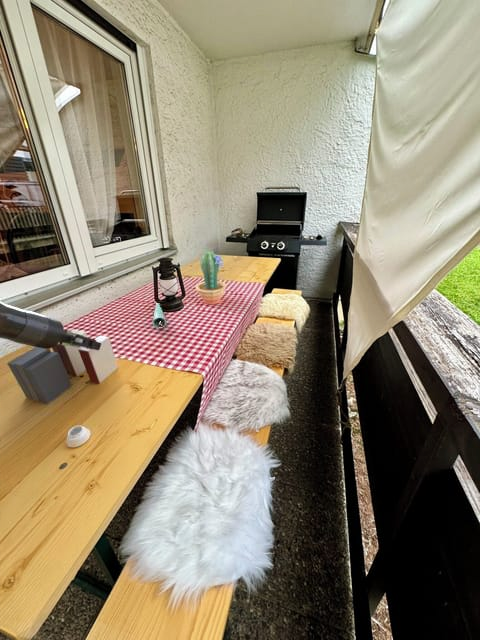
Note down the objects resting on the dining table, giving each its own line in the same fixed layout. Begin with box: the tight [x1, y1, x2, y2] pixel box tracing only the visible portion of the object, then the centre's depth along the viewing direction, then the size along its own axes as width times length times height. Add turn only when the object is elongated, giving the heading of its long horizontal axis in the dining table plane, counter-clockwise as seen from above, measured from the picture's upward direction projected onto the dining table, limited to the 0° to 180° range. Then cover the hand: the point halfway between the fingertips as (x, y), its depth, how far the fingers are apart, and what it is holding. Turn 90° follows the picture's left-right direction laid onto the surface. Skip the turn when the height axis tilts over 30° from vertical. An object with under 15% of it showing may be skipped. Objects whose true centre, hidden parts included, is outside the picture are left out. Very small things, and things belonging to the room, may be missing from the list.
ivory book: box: [79, 335, 119, 385], centre depth 80 cm, size 3×8×12 cm, turn 162°
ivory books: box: [51, 329, 89, 378], centre depth 83 cm, size 6×8×12 cm, turn 162°
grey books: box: [7, 347, 73, 405], centre depth 73 cm, size 8×8×13 cm
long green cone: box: [152, 302, 167, 330], centre depth 118 cm, size 5×6×27 cm
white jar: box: [65, 424, 92, 448], centre depth 61 cm, size 5×3×5 cm
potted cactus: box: [195, 250, 227, 305], centre depth 126 cm, size 15×15×25 cm
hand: (87, 344), depth 75 cm, fingers open, 8 cm apart
